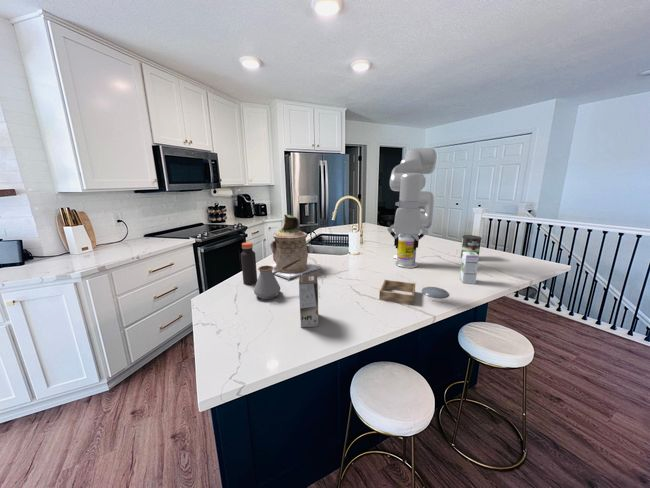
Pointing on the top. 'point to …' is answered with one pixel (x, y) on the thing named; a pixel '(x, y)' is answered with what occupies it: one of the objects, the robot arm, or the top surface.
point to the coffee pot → (268, 282)
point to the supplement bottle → (405, 248)
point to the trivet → (435, 292)
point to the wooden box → (397, 296)
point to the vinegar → (248, 264)
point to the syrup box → (469, 267)
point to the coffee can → (470, 244)
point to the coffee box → (308, 300)
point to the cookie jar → (290, 250)
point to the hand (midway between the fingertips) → (405, 248)
